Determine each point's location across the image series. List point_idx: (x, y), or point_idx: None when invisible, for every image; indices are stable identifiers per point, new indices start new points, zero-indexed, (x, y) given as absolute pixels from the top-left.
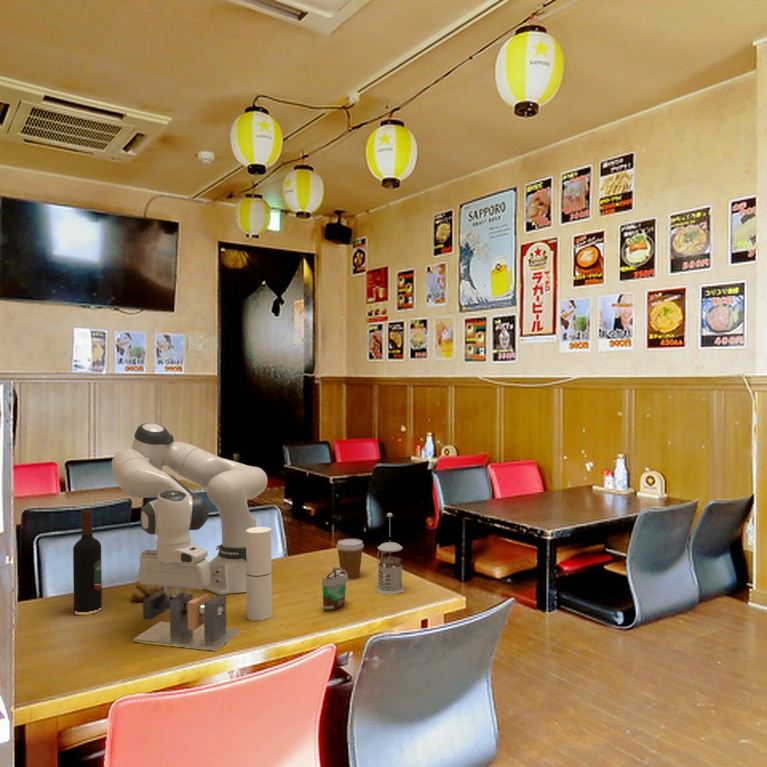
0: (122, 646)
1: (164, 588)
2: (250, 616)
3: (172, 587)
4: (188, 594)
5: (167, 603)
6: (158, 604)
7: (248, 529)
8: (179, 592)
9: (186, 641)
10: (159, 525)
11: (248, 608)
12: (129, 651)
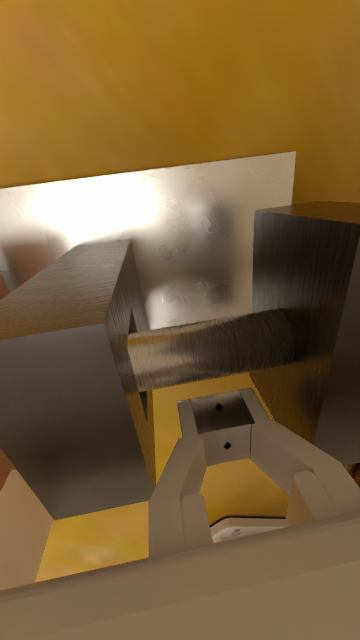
0: (315, 87)
1: (344, 483)
2: (12, 480)
3: (286, 519)
4: (62, 496)
5: (212, 351)
6: (286, 323)
7: None
8: (156, 489)
9: (13, 227)
10: None
11: (11, 508)
12: (243, 31)
